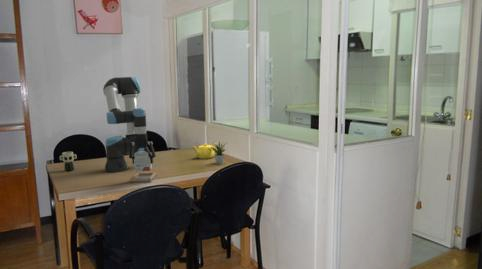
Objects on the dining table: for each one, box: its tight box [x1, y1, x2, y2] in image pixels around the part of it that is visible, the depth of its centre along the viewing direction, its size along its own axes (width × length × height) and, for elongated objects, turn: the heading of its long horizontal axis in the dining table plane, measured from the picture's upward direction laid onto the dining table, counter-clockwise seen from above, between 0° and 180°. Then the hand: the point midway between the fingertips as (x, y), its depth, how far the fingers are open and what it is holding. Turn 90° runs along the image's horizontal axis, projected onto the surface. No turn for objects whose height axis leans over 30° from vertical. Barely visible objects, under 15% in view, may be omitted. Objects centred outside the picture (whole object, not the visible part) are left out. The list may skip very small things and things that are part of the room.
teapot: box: [192, 142, 218, 160], centre depth 300 cm, size 22×16×11 cm
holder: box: [129, 171, 158, 184], centre depth 241 cm, size 13×15×2 cm
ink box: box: [133, 150, 151, 172], centre depth 239 cm, size 9×5×12 cm, turn 92°
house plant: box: [210, 141, 229, 165], centre depth 280 cm, size 14×14×16 cm
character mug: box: [59, 151, 78, 171], centre depth 270 cm, size 11×7×13 cm, turn 112°
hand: (143, 168), depth 240 cm, fingers closed on ink box, 9 cm apart
